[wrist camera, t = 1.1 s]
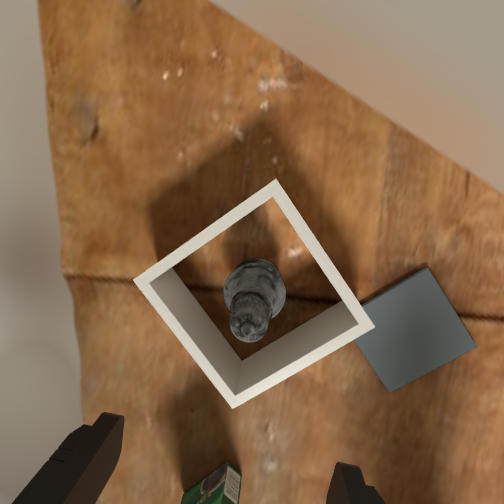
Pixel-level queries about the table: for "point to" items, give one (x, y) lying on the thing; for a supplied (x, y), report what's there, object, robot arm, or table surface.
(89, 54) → the table surface
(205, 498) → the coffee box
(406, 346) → the mat
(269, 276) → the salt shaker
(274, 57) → the table surface
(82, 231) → the table surface
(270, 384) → the frame
